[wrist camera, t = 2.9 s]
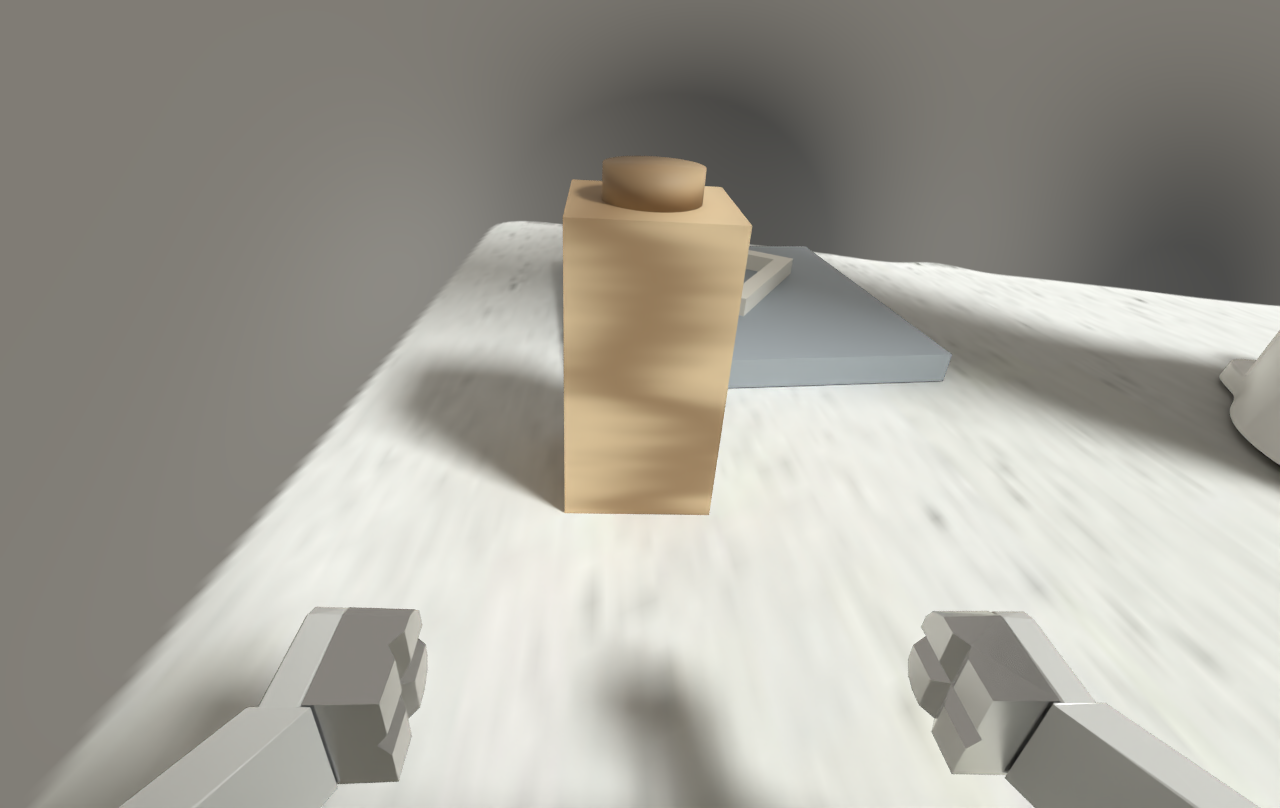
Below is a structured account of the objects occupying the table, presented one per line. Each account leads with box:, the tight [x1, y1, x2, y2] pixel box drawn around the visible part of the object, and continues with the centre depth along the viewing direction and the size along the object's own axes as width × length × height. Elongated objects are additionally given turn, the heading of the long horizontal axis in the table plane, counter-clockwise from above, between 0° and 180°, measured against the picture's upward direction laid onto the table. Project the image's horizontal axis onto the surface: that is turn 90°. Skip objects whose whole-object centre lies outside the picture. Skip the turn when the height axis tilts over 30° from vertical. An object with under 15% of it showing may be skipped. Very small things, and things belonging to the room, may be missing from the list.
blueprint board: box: [728, 246, 952, 388], centre depth 37 cm, size 18×18×2 cm
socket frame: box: [739, 250, 793, 316], centre depth 38 cm, size 9×9×1 cm
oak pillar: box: [563, 156, 752, 515], centre depth 20 cm, size 5×5×11 cm
